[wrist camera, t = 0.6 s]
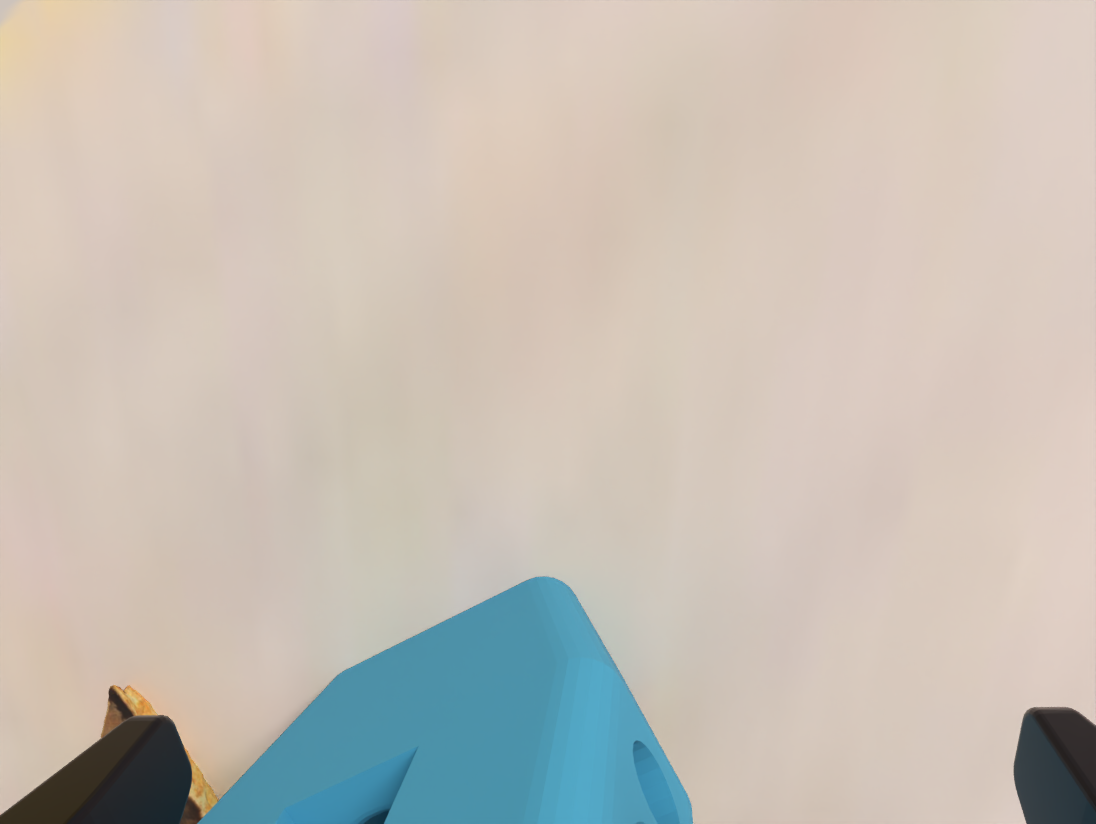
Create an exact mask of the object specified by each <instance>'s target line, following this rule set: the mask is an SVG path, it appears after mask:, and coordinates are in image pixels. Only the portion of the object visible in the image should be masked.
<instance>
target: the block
mask: <svg viewBox="0 0 1096 824" xmlns="http://www.w3.org/2000/svg"><path fill="white" fill-rule="evenodd" d="M197 824H693V818H692V808H691V803H690V800H689V798H688V795H687V793H686V791H685V790H684V788H683V786H682V784H681V782H680V781H679V779H678V777H677V775H676V773H675V771H674V770H673V768H672V766H671V764H670V762H669V761H668V759H667V757H666V755H665V753H664V751H663V750H662V748H661V746H660V744H659V742H658V741H657V739H656V737H655V735H654V733H653V731H652V730H651V728H650V726H649V724H648V722H647V721H646V719H645V717H644V715H643V713H642V711H641V710H640V708H639V706H638V704H637V702H636V701H635V699H634V697H633V695H632V693H631V691H630V690H629V688H628V686H627V684H626V682H625V680H624V679H623V677H622V675H621V674H620V672H619V670H618V668H617V667H616V665H615V663H614V661H613V660H612V658H611V656H610V654H609V653H608V651H607V649H606V648H605V646H604V644H603V642H602V641H601V639H600V637H599V635H598V634H597V632H596V630H595V628H594V627H593V625H592V623H591V622H590V620H589V618H588V616H587V615H586V613H585V611H584V609H583V608H582V606H581V604H580V602H579V601H578V599H577V597H576V595H575V594H574V593H573V591H572V590H571V589H570V587H568V586H567V585H566V584H565V583H563V582H562V581H559V580H557V579H555V578H550V577H535V578H532V579H529V580H527V581H525V582H523V583H520V584H518V585H516V586H514V587H512V588H510V589H508V590H506V591H504V592H502V593H500V594H498V595H496V596H494V597H492V598H490V599H488V600H486V601H484V602H482V603H480V604H478V605H476V606H474V607H472V608H470V609H468V610H466V611H464V612H462V613H460V614H458V615H456V616H454V617H452V618H450V619H448V620H446V621H444V622H442V623H440V624H438V625H436V626H434V627H432V628H430V629H428V630H426V631H424V632H422V633H420V634H418V635H416V636H413V637H411V638H409V639H407V640H405V641H403V642H401V643H399V644H397V645H395V646H393V647H391V648H389V649H387V650H385V651H383V652H381V653H379V654H377V655H375V656H373V657H371V658H369V659H367V660H365V661H363V662H361V663H359V664H357V665H355V666H353V667H351V668H349V669H347V670H345V671H343V672H342V673H340V674H339V675H337V676H336V678H335V679H334V680H333V681H332V682H331V683H330V684H329V685H328V686H327V687H326V688H325V689H324V690H323V691H322V692H321V693H320V694H319V696H318V697H317V698H316V699H315V700H314V701H313V702H312V703H311V704H310V705H309V706H308V707H307V708H306V709H305V710H304V711H303V712H302V713H301V715H300V716H299V717H298V718H297V719H296V720H295V721H294V722H293V723H292V724H291V725H290V726H289V727H288V728H287V729H286V730H285V731H284V732H283V734H282V735H281V736H280V737H279V738H278V739H277V740H276V741H275V742H274V743H273V744H272V745H271V746H270V747H269V748H268V749H267V750H266V751H265V753H264V754H263V755H262V756H261V757H260V758H259V759H258V760H257V761H256V762H255V763H254V764H253V765H252V766H251V767H250V768H249V769H248V770H247V772H246V773H245V774H244V775H243V776H242V777H241V778H240V779H239V780H238V781H237V782H236V783H235V784H234V785H233V786H232V787H231V788H230V789H229V791H228V792H227V793H226V794H225V795H224V796H223V797H222V798H221V799H220V800H219V801H218V802H217V803H216V804H215V805H214V806H213V807H212V809H211V810H210V811H209V812H208V813H207V814H206V815H205V816H204V817H203V818H202V819H201V820H200V821H199V822H198V823H197Z"/></svg>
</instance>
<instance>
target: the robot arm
mask: <svg viewBox="0 0 1096 824" xmlns="http://www.w3.org/2000/svg"><path fill="white" fill-rule="evenodd" d="M1014 781H1015V786H1016V790H1017V794H1018V797H1019V800H1020V804H1021V807H1022V810H1023V814H1024V817H1025V820H1026V823H1027V824H1096V725H1095V724H1093V723H1092V722H1091V721H1090V720H1088V719H1087V718H1086V717H1084V716H1083V715H1082V714H1081V713H1079V712H1078V711H1076V710H1074V709H1072V708H1068V707H1034V708H1030V709H1029V710H1027V711H1026V713H1025V714H1024V717H1023V721H1022V726H1021V731H1020V736H1019V741H1018V746H1017V751H1016V756H1015V761H1014ZM191 784H192V768H191V764H190V761H189V758H188V756H187V753H186V751H185V749H184V746H183V744H182V741H181V739H180V736H179V734H178V731H177V729H176V727H175V724H174V722H173V721H172V720H171V719H170V718H169V717H168V716H164V715H138V716H133V717H130V718H128V719H127V720H125V721H124V722H122V723H121V724H120V725H118V726H117V727H116V728H114V729H113V730H112V731H110V732H109V733H108V734H106V735H105V736H104V737H102V738H101V739H100V740H99V741H97V742H96V743H95V744H93V745H92V746H91V747H89V748H88V749H87V750H85V751H84V752H83V753H81V754H80V755H79V756H78V757H76V758H75V759H74V760H72V761H71V762H70V763H68V764H67V765H66V766H64V767H63V768H62V769H60V770H59V771H58V772H57V773H55V774H54V775H53V776H51V777H50V778H49V779H47V780H46V781H45V782H43V783H42V784H41V785H39V786H38V787H37V788H35V789H34V790H33V791H32V792H30V793H29V794H28V795H26V796H25V797H24V798H22V799H21V800H20V801H18V802H17V803H16V804H14V805H13V806H12V807H11V808H9V809H8V810H7V811H5V812H4V813H3V814H1V815H0V824H180V822H181V818H182V815H183V812H184V809H185V805H186V802H187V799H188V796H189V792H190V789H191Z"/></svg>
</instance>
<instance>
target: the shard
mask: <svg viewBox="0 0 1096 824" xmlns="http://www.w3.org/2000/svg"><path fill="white" fill-rule="evenodd" d="M138 715H157V713H156V712H155V711H154V709H153V708H152V706H151V704H150V703H149V702H148V701H147V700H145V699H144V698H143V697H142V695H140V694H139V693H138V692H137V691H136V690H133V689H132V688H131V687H130V686H129V685H128V686H127V687H126V688H125V690H124V691H123V690H122V689H121V688H120V687H117V686H115V685H113V686H110V689H109V699H108V709H107V713H106V717H105V720H104V727H103V730H102V734H101V738H102V737H104V736H105V735H106V734H108V733H109V732H110V731H112V730H113V729H114V728H116V727H117V726H118V725H120V724H121V723H122V722H124V721H125V720H127V719H128V718H130V717H133V716H138ZM184 749H185V748H184ZM185 751H186V753H187V756H188V758H189V761H190V764H191V768H192V784H191V789H190V792H189V796H188V799H187V802H186V805H185V809H184V812H183V815H182V818H181V822H180V824H197V823H198V822H199V821H200V820H201V819H202V818H203V817H204V816H205V815H206V814H207V813H208V812H209V811H210V810H211V809H212V807H213V806H214V805H215V804H216V803H217V802H218V799H217V797H216V795H215V794H214V792H213V790H212V788H211V787H210V786H209V785H208V784H207V782H206V781H205V779H204V778H203V774H202V773H201V771H200V770H199V768H198V766H197V765H196V764H195V763H194V762H193V760H192V759H191V758H190V755H189V753H188V751H187V750H186V749H185Z"/></svg>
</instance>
